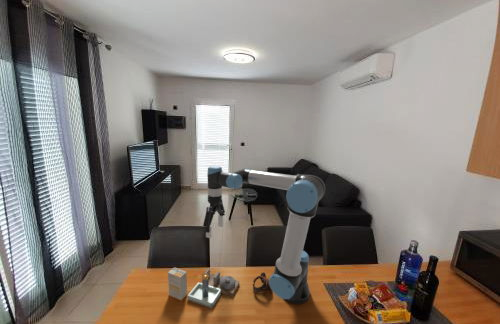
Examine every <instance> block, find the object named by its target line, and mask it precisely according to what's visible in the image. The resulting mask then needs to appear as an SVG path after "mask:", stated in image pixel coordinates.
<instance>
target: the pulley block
mask: <svg viewBox="0 0 500 324" xmlns="http://www.w3.org/2000/svg"><path fill="white" fill-rule="evenodd" d="M204 273H208V274H209V286H213V287H216V288H219V289H221V294H223V295H226V296H230V297H234V295H235V294H236V292H237V289H238V287H239V286H240V280H237V279H235V278H234V277H233V276H230V275H226V276H223V275H221V272H220V271H217V272H215V273H212V272H211V269H210V268H207V269H206V271H204Z"/></svg>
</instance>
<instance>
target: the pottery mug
mask: <svg viewBox="0 0 500 324" xmlns="http://www.w3.org/2000/svg"><path fill="white" fill-rule="evenodd" d="M266 276H267V275H266V273H265V272H261V273H260V275H258V276H256V277H255V278H254V279H253V281H252V282H253V284H252V289H253V291H254V292H255V293H261V294H264V290H267V289H268V288H269V287H270V285H269V279H268V278H267V277H266ZM258 279H260V281H261V283H262V285H261V286H259V287H256V286H255V283H256V282H257V281H258ZM269 289H270V290H269V291H270V293H273V291H272V289H271V288H269Z"/></svg>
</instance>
